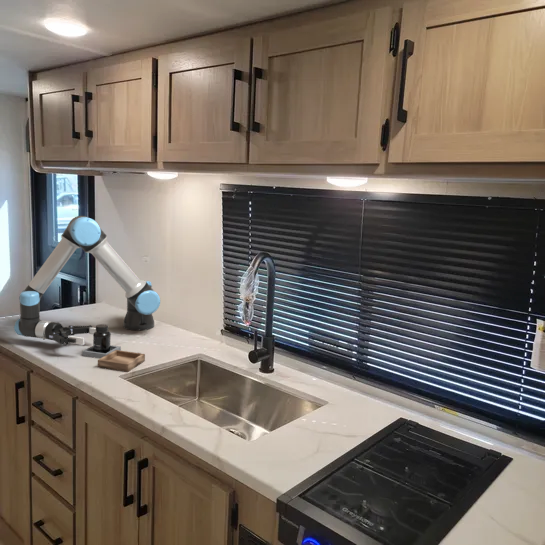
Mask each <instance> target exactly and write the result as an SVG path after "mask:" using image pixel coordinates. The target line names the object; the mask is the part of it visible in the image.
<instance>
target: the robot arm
mask: <svg viewBox="0 0 545 545" xmlns="http://www.w3.org/2000/svg"><path fill="white" fill-rule="evenodd" d="M60 237H61V240H60V241H59V242H58V243H57V245H56V246H55V248H54V249H53V250H52V252H51V253H50V255H49V256H48V257H47V259H46V260H45V261H44V263H43V264H42V265H41V267H40V268H39V269H38V271H37V272H36V274H35V275H34V276H33V277H32V279H31V281H29V283H28V284H27V286H26V287H25V289H24V290H22V291H21V292H20V294H19V298H18V299H19V311H20V312H19V314H20V315H19V316H20V317H19V318H18V319H17V320H16V321H15V323H14V327H13V330H14V332H15V334H17V335H18V336H22V337H27V338H37V339H42V340H49V341H55V342H56V343H57V344H61V345H65V346H69V344H72V345H73V344H74V345H80V346H81V345H82V346H84V345H85V337H80V336H79V337H78V336H75V335H79V334H80V335H81V334H89V335H93V334H94V333H95V332H96V327H93V325H91V324H90V325H68V326H63V325H62V324H61V323H60V322H55V321H54V322H53V321H50V320H40V319H41V316H40V309H41V308H40V306H41V305H40V301H41V299H42V297H43V295H44V294H45V292H46V291H47V289H48V288H49V286H51V284H52V282H54V281H55V279H56V278H57V276H58V275H59V273H60V272H61V270H62V269H63V268H64V266H65V265H66V264H67V263H68V261H69V260H70V258H71V257H72V256H73V254H74V253H75V251H77V249H80V248H81V249H82V250H83V251H84V252H85V253H86V254H87V253H88V254H91V255H92V257H94V259H96V261H97V262H98V263H99V264H100V265H101V266H102V267H103V269H105V271H106V272H107V273H108V275H110V277H111V278H112V279H113V280H114V281H115V282H116V283H117V285H119V287H120V288H122V290H123V291H124V292H125V298H126V313H125V316H124V318H123V323H122V324H123V326H122V327H123V328H124V329H127V330H131V331H145V330H150V329H153V328H154V327H155V318H154V316H153V314H154V313H155V312H156V311H157V310H158V309H159V307H160V306H161V297H160V295H159V294H158V292H156V291H155V290H154V289H153V288H152V287H153V284H152V282H151V281H149V280H141V278H139V277H138V276H137V275H136V273H135V272H134V271H133V270H132V269H131V266H129V265H128V264H127V263H126V262H125V261H124V259H123V258H122V256H120V254H118V253H117V251H116V250H115V249H114V248H113V246H111V245H110V243H109V241H108V240H107V238H108V236H107V234H106V233H105V232H104V231H103V230H102V228H100V225H99V224H98V222H97V221H96V220H95V219H93V218H90V217H88V216H86V215H77V216H75V217H73V218H72V219H71V220H70V221H69V223H68V224H67V226H66V228H65V230H64V231H63V233H62V234H61V235H60Z"/></svg>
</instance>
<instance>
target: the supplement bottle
mask: <svg viewBox="0 0 545 545" xmlns="http://www.w3.org/2000/svg"><path fill="white" fill-rule="evenodd" d="M95 328H96V332H95V333H94V334H92V338H93V339H92V346H93V352H99V353H107V352H109V351H111V350H110V345H111V337H112V336H111V332H110V331H109V325H108V324H104V323H102V324H97V325H96V326H95Z"/></svg>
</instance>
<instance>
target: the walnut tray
mask: <svg viewBox="0 0 545 545" xmlns="http://www.w3.org/2000/svg"><path fill="white" fill-rule="evenodd" d="M145 362H146V353H141V352H140V353H139V352H133V351H127V350H121V351H120V350H115V351H113V352H111V353H109V354H108V355H106V356H104V357H102V358H98V359H97V368H98V367H100V368H99V369H105V368H106V370H113V371H117V372H118V371H120V372H125V373H129V372H130V371H131V370H133V369H135V368H137V367H139V366H140V365H142V364H143V363H145Z"/></svg>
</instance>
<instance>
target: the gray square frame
mask: <svg viewBox="0 0 545 545" xmlns="http://www.w3.org/2000/svg"><path fill="white" fill-rule="evenodd" d="M115 350H120V351H122V348H121V346H119V345H112V344H110V351H109V352H107V353H99V352H93V345H91V346H89V347H87V348H85V349H84V350H82V351H81V353H82V354H81V355H82V356H83V357H89V358H94V357H95V359H100V358H102V357H104V356H106V355H108V354H109V353H111V352H113V351H115Z"/></svg>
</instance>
